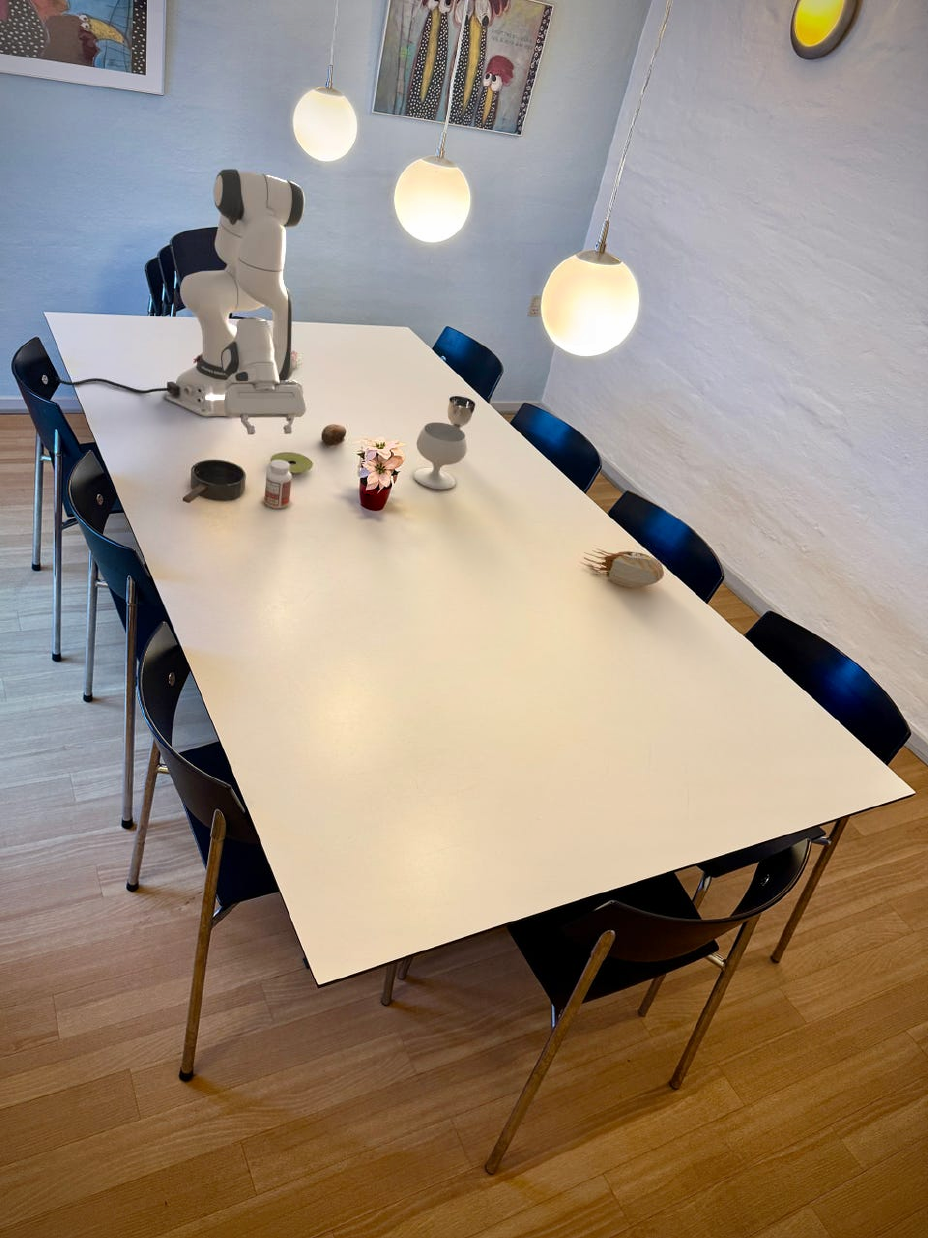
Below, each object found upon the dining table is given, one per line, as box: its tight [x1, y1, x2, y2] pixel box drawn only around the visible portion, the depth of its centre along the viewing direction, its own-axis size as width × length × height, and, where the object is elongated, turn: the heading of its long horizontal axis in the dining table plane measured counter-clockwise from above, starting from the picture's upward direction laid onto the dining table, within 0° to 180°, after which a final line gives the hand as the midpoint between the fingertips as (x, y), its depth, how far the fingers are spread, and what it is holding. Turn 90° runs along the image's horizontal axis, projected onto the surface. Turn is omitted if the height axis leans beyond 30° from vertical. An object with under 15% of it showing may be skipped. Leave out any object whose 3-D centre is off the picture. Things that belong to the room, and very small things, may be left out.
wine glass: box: [447, 395, 476, 430], centre depth 267 cm, size 8×8×15 cm
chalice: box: [413, 421, 468, 490], centre depth 247 cm, size 14×14×15 cm
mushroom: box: [320, 423, 347, 447], centre depth 255 cm, size 8×8×6 cm
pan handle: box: [182, 483, 208, 504], centre depth 212 cm, size 2×9×1 cm, turn 165°
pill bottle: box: [263, 460, 293, 509], centre depth 220 cm, size 6×6×11 cm
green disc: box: [270, 451, 314, 473], centre depth 239 cm, size 11×11×2 cm
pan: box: [190, 459, 247, 502], centre depth 222 cm, size 13×13×4 cm
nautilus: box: [579, 548, 665, 589], centre depth 228 cm, size 8×22×15 cm
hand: (270, 433), depth 222 cm, fingers open, 8 cm apart
